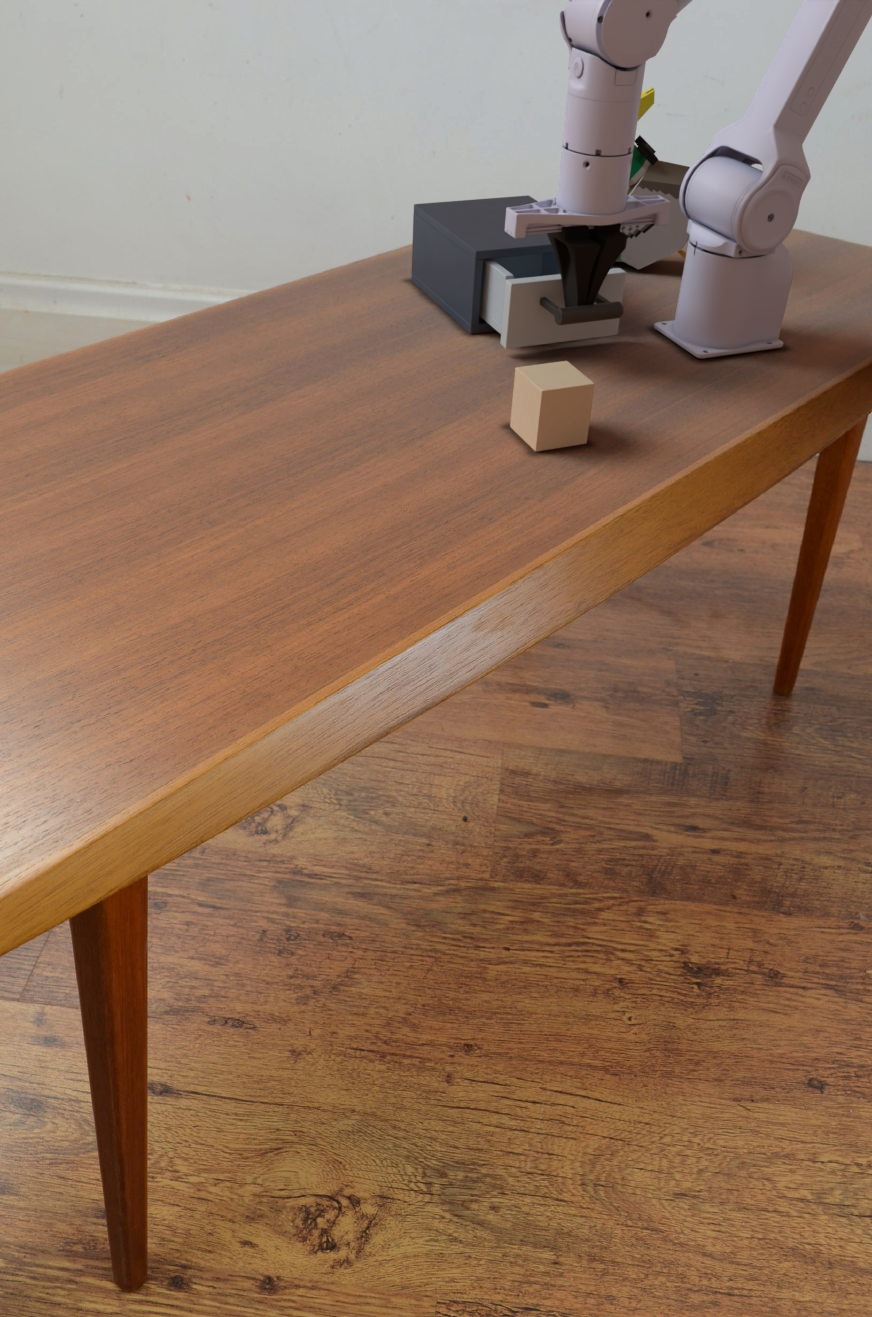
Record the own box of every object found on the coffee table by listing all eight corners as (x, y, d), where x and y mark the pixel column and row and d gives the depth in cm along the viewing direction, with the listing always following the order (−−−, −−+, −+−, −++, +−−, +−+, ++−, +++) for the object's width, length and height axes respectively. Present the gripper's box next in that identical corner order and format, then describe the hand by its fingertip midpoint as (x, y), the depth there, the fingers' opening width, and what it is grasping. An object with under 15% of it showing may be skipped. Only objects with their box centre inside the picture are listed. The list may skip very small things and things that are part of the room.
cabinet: (589, 319, 110) (599, 239, 106) (470, 334, 106) (475, 251, 102) (521, 269, 121) (528, 194, 116) (411, 281, 117) (413, 203, 112)
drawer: (643, 353, 102) (653, 289, 99) (528, 369, 98) (535, 302, 95) (549, 285, 115) (555, 225, 112) (445, 296, 111) (448, 235, 108)
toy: (770, 214, 117) (632, 67, 111) (647, 335, 124) (513, 203, 119) (761, 202, 122) (630, 61, 116) (644, 318, 130) (516, 191, 124)
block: (559, 419, 93) (566, 360, 90) (586, 443, 90) (595, 383, 87) (509, 426, 91) (515, 367, 88) (535, 451, 88) (542, 390, 85)
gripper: (649, 130, 97) (625, 289, 105) (494, 139, 92) (482, 305, 101) (695, 152, 92) (666, 317, 100) (533, 162, 87) (517, 335, 95)
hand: (577, 313), depth 100 cm, fingers closed, pressing on drawer
